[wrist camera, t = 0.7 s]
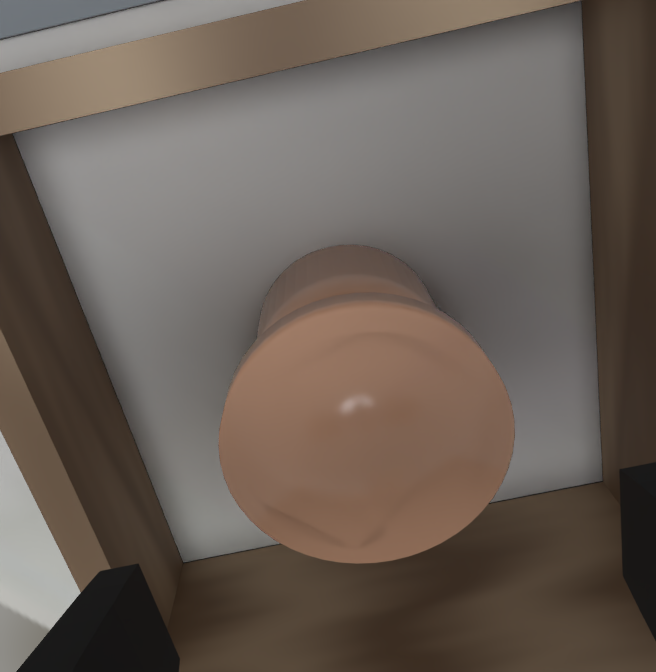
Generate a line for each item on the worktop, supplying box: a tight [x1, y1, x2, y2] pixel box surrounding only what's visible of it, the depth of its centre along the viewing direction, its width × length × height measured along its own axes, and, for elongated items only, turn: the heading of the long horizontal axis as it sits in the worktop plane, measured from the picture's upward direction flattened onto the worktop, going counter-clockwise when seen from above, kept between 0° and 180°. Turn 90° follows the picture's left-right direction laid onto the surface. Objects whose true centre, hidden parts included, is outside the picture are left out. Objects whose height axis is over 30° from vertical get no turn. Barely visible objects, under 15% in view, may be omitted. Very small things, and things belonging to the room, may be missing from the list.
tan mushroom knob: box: [219, 245, 515, 564], centre depth 15 cm, size 6×6×6 cm
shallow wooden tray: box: [0, 0, 656, 672], centre depth 15 cm, size 16×16×7 cm
